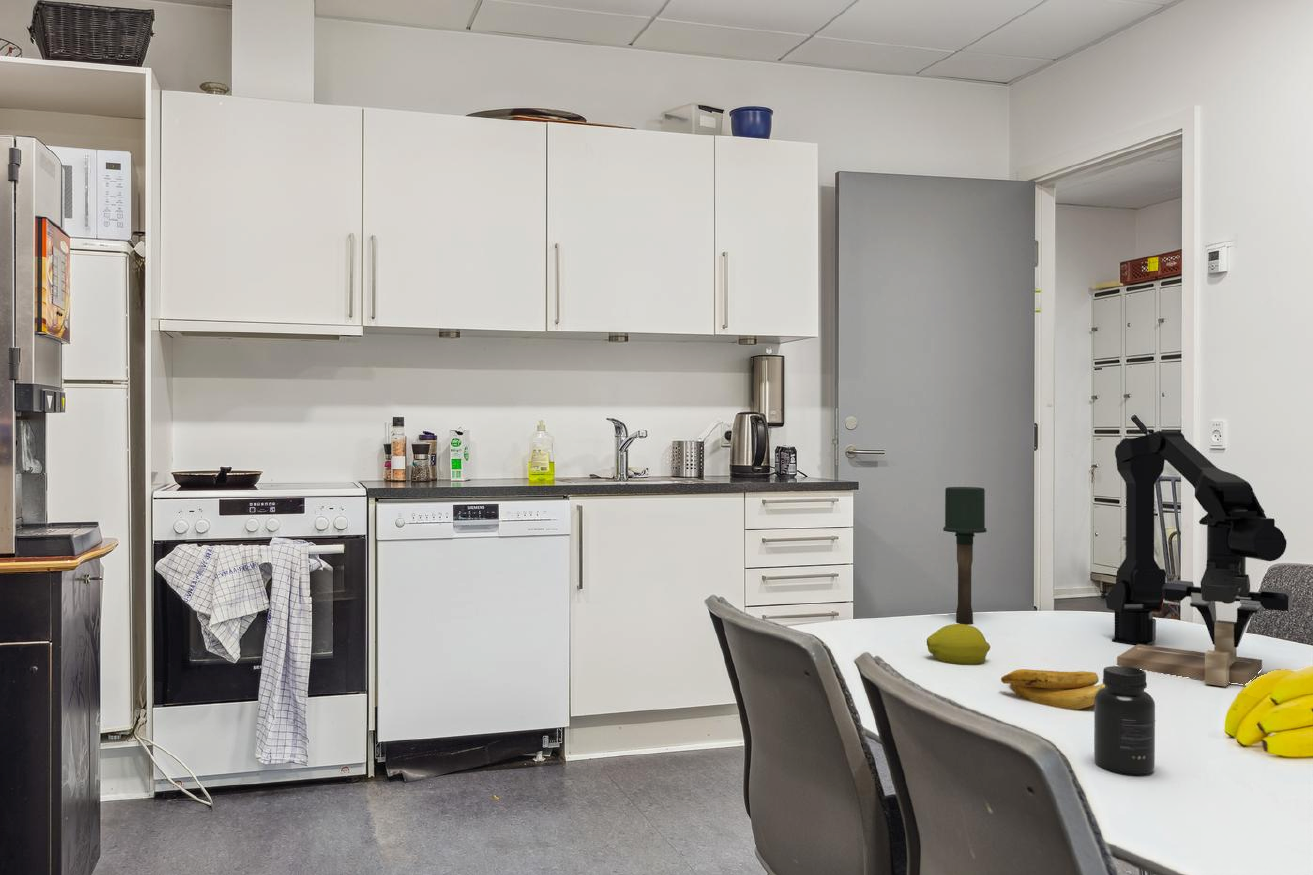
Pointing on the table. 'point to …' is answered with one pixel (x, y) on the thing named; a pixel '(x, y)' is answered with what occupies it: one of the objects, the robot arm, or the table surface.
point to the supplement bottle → (1124, 722)
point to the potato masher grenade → (964, 538)
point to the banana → (1055, 687)
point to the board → (1184, 663)
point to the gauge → (1221, 654)
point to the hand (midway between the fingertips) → (1225, 645)
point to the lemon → (958, 645)
